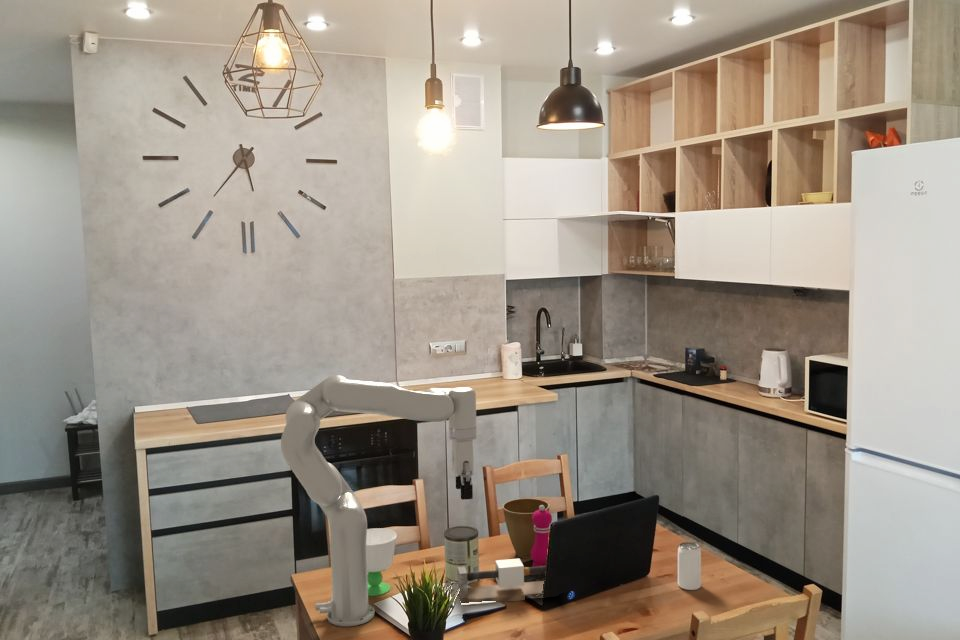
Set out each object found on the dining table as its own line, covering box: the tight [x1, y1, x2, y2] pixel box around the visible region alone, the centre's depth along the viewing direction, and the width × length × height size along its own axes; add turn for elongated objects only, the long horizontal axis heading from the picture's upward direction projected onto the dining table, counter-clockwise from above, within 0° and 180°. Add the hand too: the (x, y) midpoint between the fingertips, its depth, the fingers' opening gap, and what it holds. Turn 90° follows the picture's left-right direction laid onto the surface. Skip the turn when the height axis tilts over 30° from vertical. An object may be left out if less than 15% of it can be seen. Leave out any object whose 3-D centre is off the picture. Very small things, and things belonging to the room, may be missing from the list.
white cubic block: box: [494, 557, 525, 588], centre depth 226 cm, size 7×6×6 cm
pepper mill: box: [531, 505, 553, 567], centre depth 244 cm, size 7×7×20 cm
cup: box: [366, 527, 398, 597], centre depth 232 cm, size 14×14×16 cm
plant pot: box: [502, 497, 550, 559], centre depth 256 cm, size 15×15×16 cm
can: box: [677, 541, 702, 591], centre depth 230 cm, size 6×6×12 cm
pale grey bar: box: [457, 566, 546, 604], centre depth 226 cm, size 28×8×8 cm, turn 100°
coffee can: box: [443, 525, 480, 585], centre depth 239 cm, size 10×10×14 cm
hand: (464, 493), depth 222 cm, fingers open, 9 cm apart
